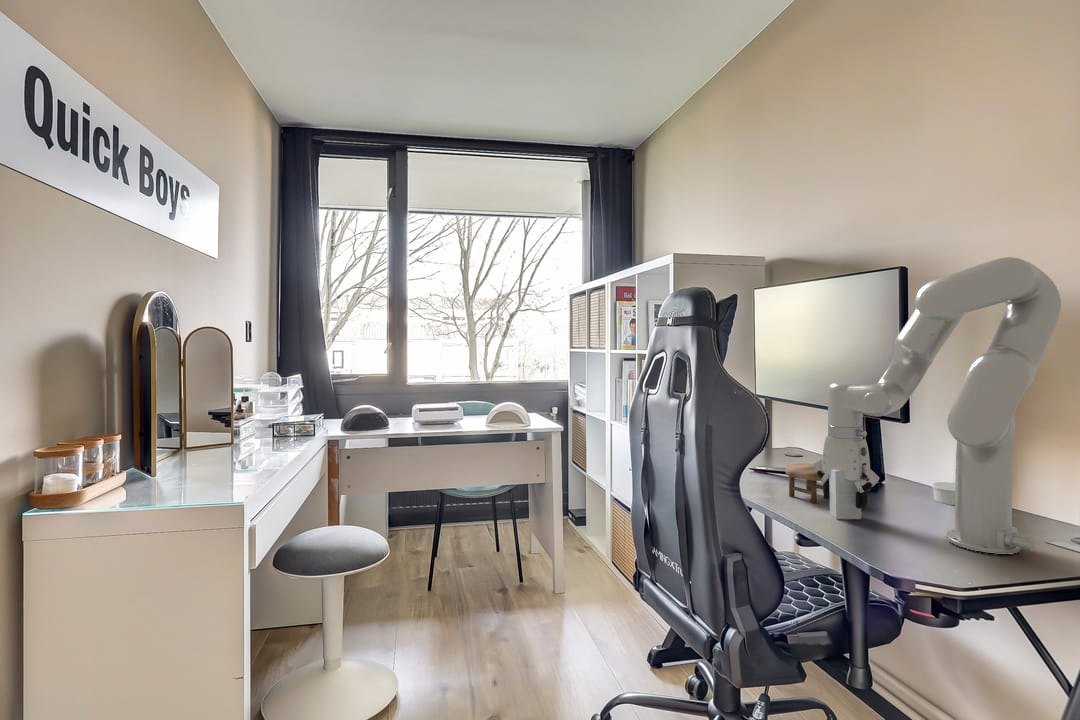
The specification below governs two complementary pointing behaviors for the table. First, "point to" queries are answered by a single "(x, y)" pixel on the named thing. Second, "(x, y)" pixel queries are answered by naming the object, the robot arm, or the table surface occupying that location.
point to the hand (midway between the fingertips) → (844, 502)
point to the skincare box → (843, 497)
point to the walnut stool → (804, 473)
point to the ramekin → (944, 492)
